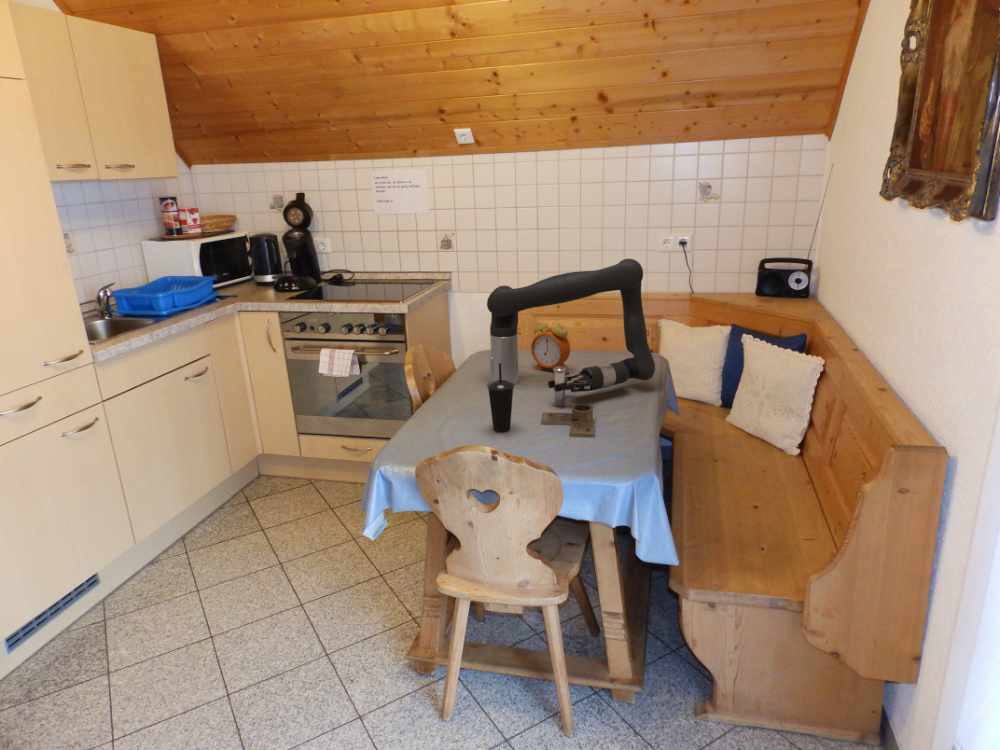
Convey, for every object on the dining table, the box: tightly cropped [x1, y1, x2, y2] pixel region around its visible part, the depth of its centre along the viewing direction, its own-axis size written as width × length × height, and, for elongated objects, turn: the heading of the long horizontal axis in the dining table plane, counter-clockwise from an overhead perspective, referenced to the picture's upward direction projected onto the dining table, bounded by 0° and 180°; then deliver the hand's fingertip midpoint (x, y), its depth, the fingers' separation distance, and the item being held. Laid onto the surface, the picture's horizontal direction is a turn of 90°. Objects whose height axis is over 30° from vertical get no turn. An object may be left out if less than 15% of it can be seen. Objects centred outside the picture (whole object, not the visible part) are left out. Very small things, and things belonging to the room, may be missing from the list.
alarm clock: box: [530, 315, 571, 374], centre depth 243 cm, size 13×6×20 cm, turn 55°
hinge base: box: [540, 403, 596, 438], centre depth 195 cm, size 16×16×4 cm
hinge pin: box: [553, 366, 567, 407], centre depth 210 cm, size 4×4×12 cm
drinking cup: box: [486, 363, 515, 434], centre depth 192 cm, size 8×8×20 cm
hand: (552, 386), depth 208 cm, fingers closed on hinge pin, 3 cm apart
